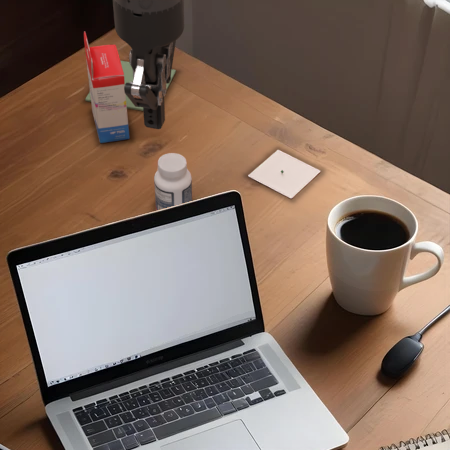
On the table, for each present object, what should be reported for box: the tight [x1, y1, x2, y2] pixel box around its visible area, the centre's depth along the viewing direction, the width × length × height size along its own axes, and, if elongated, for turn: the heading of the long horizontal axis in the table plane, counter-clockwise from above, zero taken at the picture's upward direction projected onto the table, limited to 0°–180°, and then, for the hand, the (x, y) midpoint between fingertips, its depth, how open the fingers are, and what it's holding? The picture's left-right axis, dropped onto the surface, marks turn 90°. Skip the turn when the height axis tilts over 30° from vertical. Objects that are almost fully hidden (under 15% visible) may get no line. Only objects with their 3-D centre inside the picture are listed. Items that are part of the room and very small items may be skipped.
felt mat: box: [84, 60, 177, 112], centre depth 139 cm, size 12×12×1 cm
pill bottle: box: [153, 152, 193, 211], centre depth 118 cm, size 5×5×9 cm
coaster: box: [247, 149, 322, 199], centre depth 126 cm, size 8×8×1 cm
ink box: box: [83, 31, 131, 144], centre depth 127 cm, size 8×5×15 cm, turn 14°
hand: (154, 124), depth 101 cm, fingers closed
